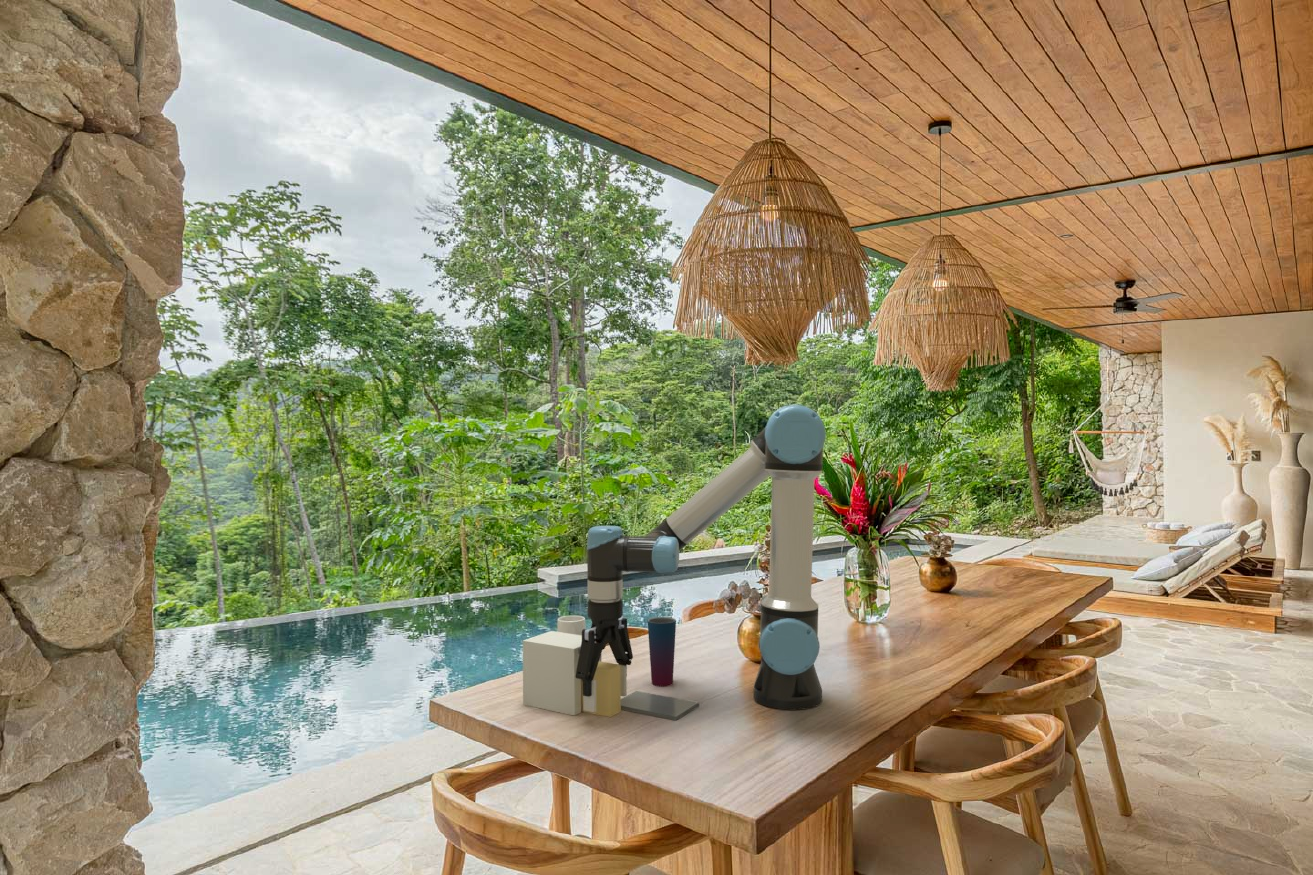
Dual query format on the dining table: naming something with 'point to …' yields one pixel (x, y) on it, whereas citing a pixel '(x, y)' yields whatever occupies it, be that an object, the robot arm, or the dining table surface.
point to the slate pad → (657, 705)
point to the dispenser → (552, 672)
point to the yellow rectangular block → (606, 689)
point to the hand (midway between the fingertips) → (605, 702)
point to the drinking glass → (571, 624)
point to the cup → (662, 649)
